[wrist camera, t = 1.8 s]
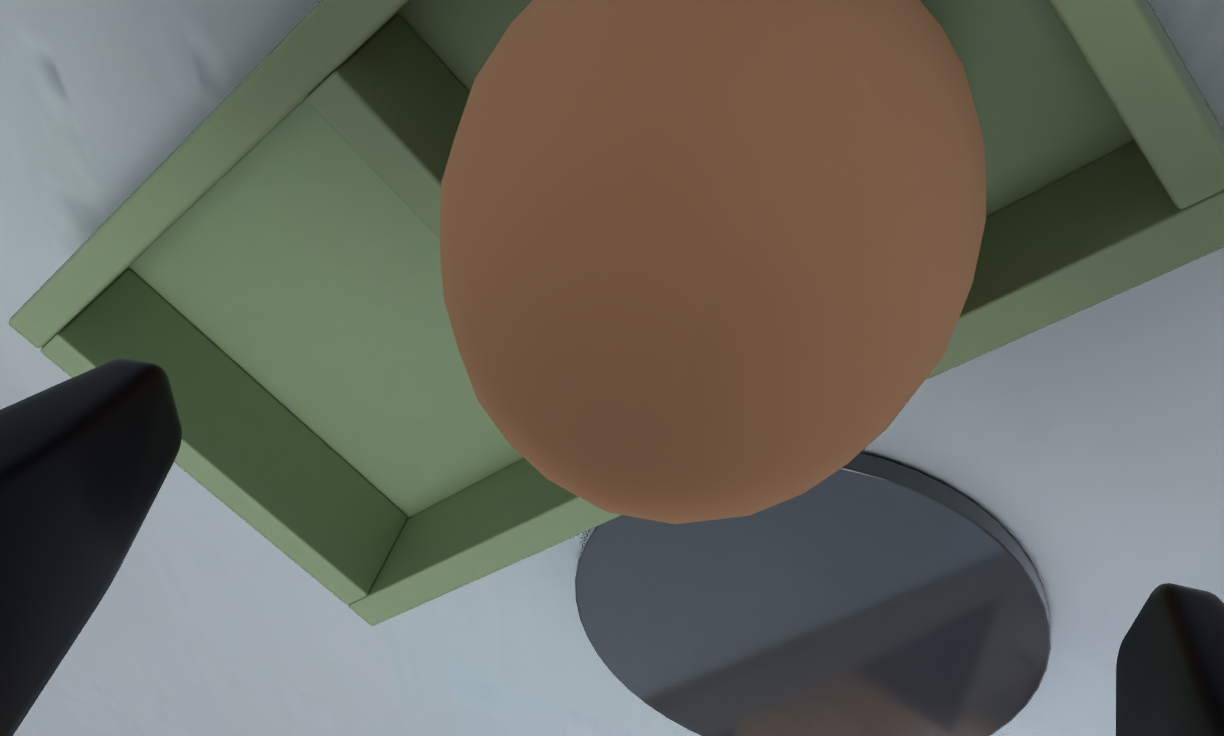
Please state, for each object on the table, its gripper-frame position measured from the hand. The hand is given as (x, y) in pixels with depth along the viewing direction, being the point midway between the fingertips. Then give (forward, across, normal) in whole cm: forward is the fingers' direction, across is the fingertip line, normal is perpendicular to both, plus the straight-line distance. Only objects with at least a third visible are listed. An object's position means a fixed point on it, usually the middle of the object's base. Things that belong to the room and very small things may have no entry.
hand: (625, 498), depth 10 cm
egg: (+10, 0, 0) cm, 10 cm away
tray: (+10, +3, +3) cm, 11 cm away
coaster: (+10, -3, +13) cm, 17 cm away
